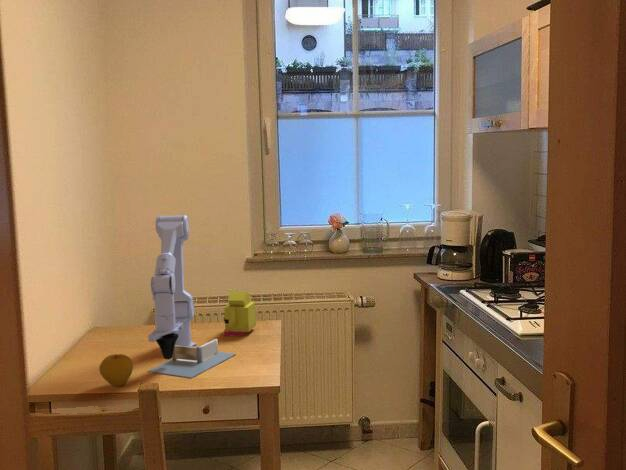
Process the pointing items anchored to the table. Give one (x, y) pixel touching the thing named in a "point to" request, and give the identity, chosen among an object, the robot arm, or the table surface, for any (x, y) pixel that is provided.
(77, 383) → the table surface
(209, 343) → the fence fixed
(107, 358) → the apple
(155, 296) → the robot arm
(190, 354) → the fence panel
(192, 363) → the mat
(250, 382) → the table surface
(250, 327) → the toy
